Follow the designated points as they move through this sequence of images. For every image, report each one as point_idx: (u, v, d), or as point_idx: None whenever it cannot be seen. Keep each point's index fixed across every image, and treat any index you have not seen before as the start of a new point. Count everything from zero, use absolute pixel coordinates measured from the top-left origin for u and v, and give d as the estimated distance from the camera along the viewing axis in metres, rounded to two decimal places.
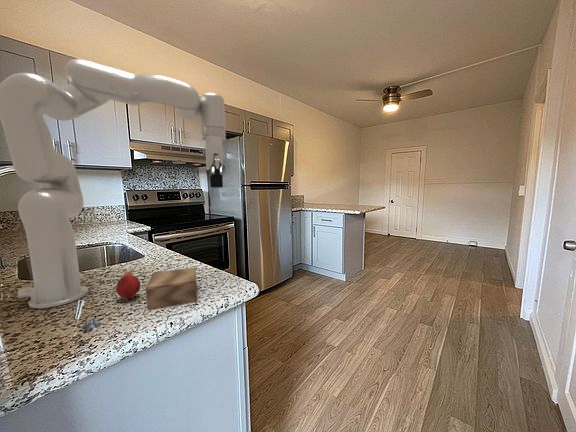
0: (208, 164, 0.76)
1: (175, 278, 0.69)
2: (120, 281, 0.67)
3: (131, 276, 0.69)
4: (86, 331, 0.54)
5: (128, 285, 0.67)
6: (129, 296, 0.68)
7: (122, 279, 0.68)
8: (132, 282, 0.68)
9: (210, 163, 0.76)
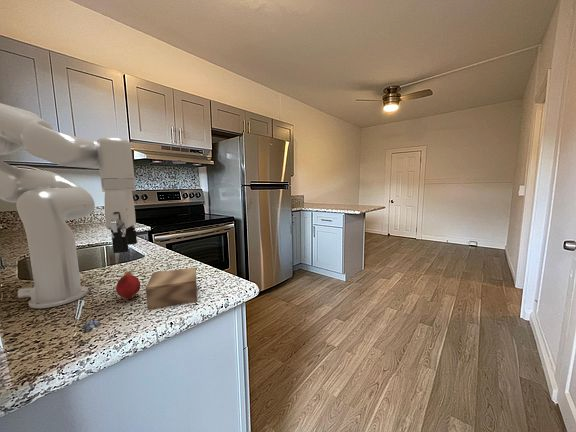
0: (107, 225, 0.62)
1: (175, 278, 0.69)
2: (120, 281, 0.67)
3: (131, 276, 0.69)
4: (86, 331, 0.54)
5: (128, 285, 0.67)
6: (129, 296, 0.68)
7: (122, 279, 0.68)
8: (132, 282, 0.68)
9: (109, 224, 0.62)
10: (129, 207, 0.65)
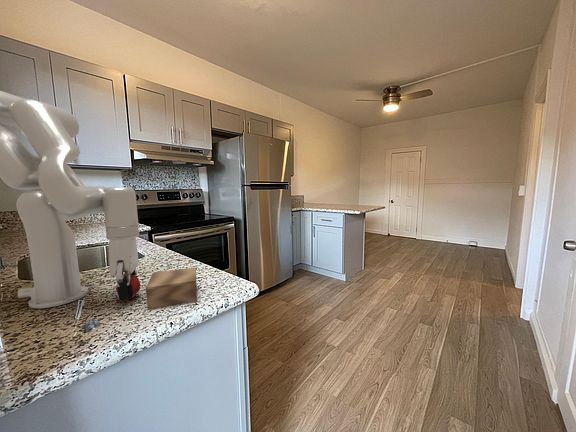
0: (110, 273, 0.63)
1: (175, 278, 0.69)
2: None
3: (131, 276, 0.69)
4: (85, 331, 0.54)
5: None
6: None
7: None
8: (132, 282, 0.68)
9: (113, 272, 0.63)
10: (132, 253, 0.67)
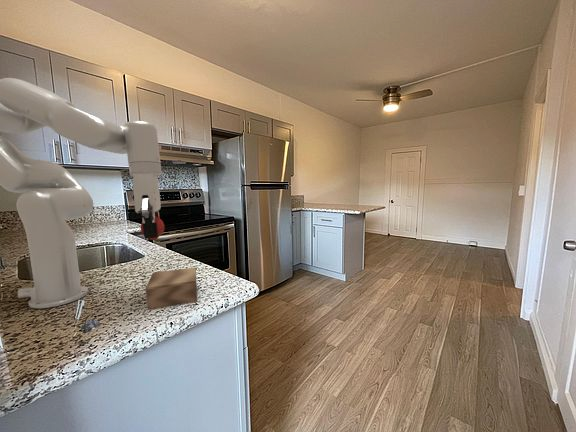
0: (136, 208, 0.62)
1: (175, 278, 0.69)
2: None
3: (155, 216, 0.68)
4: (85, 331, 0.54)
5: None
6: None
7: None
8: (157, 221, 0.67)
9: (138, 207, 0.62)
10: (156, 191, 0.65)
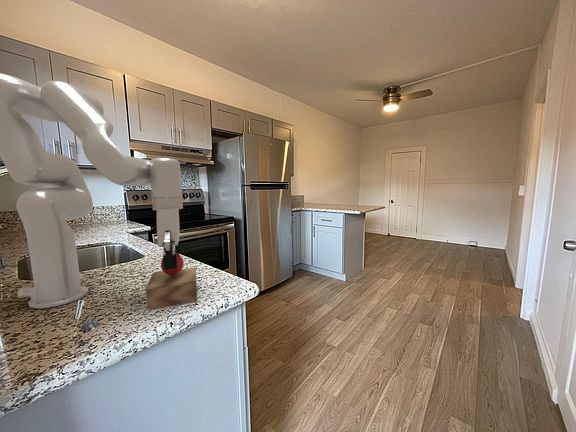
0: (158, 243, 0.64)
1: (175, 278, 0.69)
2: None
3: (176, 254, 0.69)
4: (85, 331, 0.54)
5: None
6: (173, 273, 0.69)
7: None
8: (177, 260, 0.68)
9: (160, 242, 0.64)
10: (178, 225, 0.67)
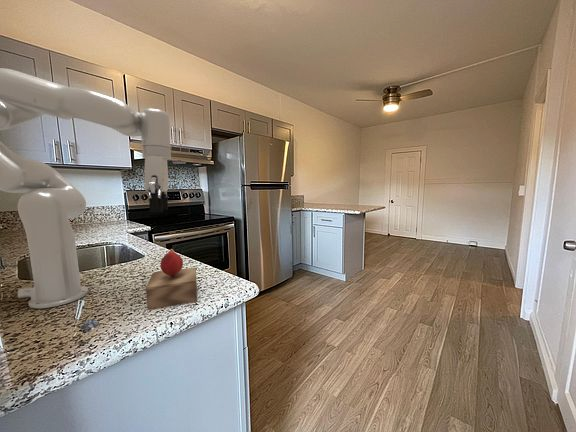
0: (145, 187, 0.69)
1: (175, 278, 0.69)
2: (165, 258, 0.68)
3: (175, 253, 0.69)
4: (84, 331, 0.54)
5: (173, 261, 0.68)
6: (173, 273, 0.69)
7: (167, 256, 0.68)
8: (176, 259, 0.69)
9: (147, 186, 0.69)
10: (165, 173, 0.72)
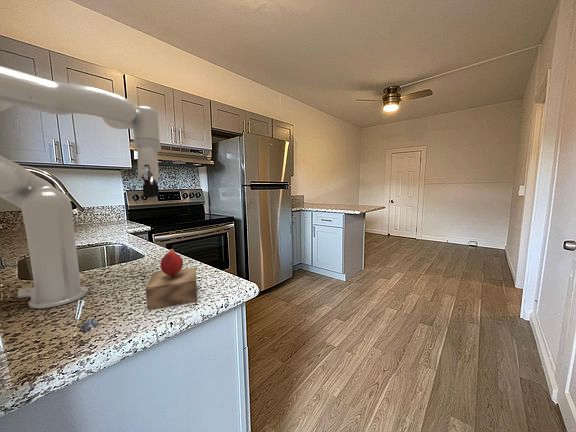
0: (139, 175, 0.79)
1: (175, 278, 0.69)
2: (165, 258, 0.68)
3: (175, 253, 0.69)
4: (84, 331, 0.54)
5: (173, 261, 0.68)
6: (173, 273, 0.69)
7: (167, 256, 0.68)
8: (176, 259, 0.69)
9: (140, 174, 0.79)
10: (155, 162, 0.82)
